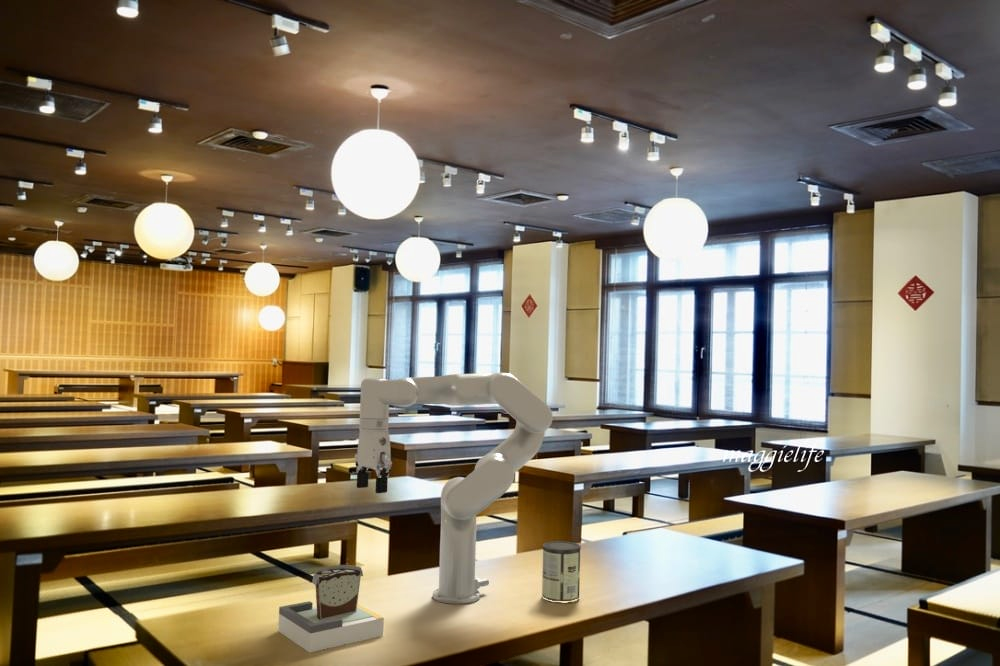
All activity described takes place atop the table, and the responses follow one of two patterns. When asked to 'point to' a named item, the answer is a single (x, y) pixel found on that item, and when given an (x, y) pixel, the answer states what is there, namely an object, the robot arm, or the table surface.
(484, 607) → the table surface
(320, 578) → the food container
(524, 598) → the table surface
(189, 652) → the table surface
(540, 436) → the robot arm
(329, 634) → the loading dock
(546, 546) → the coffee can
